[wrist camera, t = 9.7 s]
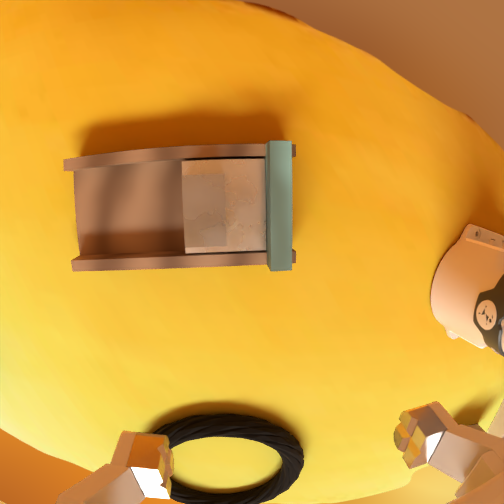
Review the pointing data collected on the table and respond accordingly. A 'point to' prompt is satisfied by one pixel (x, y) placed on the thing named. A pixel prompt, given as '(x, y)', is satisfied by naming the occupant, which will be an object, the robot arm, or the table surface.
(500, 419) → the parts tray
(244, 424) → the cable lock
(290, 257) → the drawer
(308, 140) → the table surface
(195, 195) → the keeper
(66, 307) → the table surface
